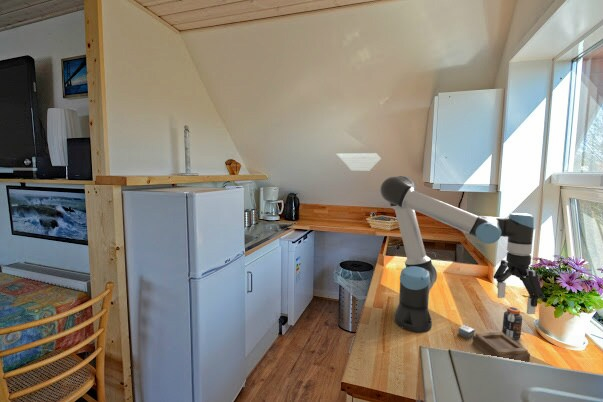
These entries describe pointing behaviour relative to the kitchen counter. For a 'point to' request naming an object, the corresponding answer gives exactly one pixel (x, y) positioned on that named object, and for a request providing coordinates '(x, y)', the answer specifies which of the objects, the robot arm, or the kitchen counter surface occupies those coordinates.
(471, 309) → the kitchen counter surface
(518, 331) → the pill bottle
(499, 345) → the stand
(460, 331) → the block
